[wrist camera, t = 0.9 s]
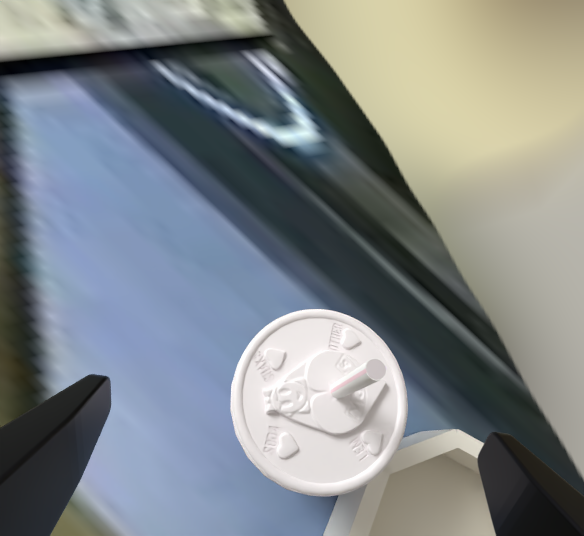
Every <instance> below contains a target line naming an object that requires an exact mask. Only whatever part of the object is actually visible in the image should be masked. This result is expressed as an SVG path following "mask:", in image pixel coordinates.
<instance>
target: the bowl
mask: <svg viewBox="0 0 584 536" xmlns="http://www.w3.org/2000/svg"><path fill="white" fill-rule="evenodd" d="M483 445H484V443H482V442H480V441H478V440H477V439H475V438H473V437H471V436H469V435H467V434H466V433H464V432H462V431H460V430H458V429H457V430H455V429H449V430H435V431H422V432H418V433H415V434H413V435H410V436H407V437H405V438H402V441H401V443H400V446H399V448H398V450H397V452H396V454H395V455H394V457H393V459H392V460H391V461H390V463H389V464H388V465H387V467H386V468H385V469H384V470H383V471H382V472H381V473H380V474H379V475H378V476H377V477H376V478H374V479H373V480H372V481H370V482H369V483H367V484H366V485H364V486H362V487H360V488H359V489H356V490H354V491H351V492H349V493H345V494H341V495H339V496H338V499H337V501H336V504H335V506H334V509H333V511H332V514H331V517H330V519H329V522H328V524H327V527H326V529H325V532H324V534H323V536H496V534H495V530H494V527H493V523H492V520H491V516H490V512H489V508H488V504H487V500H486V496H485V492H484V488H483V484H482V480H481V476H480V473H479V469H478V463H477V459H478V454H479V452H480V450H481V448H482V447H483Z"/></svg>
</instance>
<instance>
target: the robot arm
mask: <svg viewBox="0 0 584 536" xmlns="http://www.w3.org/2000/svg"><path fill="white" fill-rule="evenodd" d="M110 408H111V383H110V379H109V377H107V376H102V375H95V374H91V375H88V376H86V377H84V378H83V379H81V380H79V381H78V382H76V383H74V384H73V385H71V386H69V387H68V388H66V389H64V390H63V391H61V392H59V393H58V394H56V395H54V396H53V397H51V398H49V399H48V400H46V401H44V402H43V403H41V404H39V405H38V406H36V407H34V408H33V409H31V410H29V411H28V412H26V413H24V414H23V415H21V416H19V417H18V418H16V419H14V420H12V421H11V422H9V423H7V424H6V425H4V426H2V427H1V428H0V536H50V534H51V533H52V531H53V529H54V527H55V525H56V524H57V522H58V520H59V518H60V516H61V515H62V513H63V511H64V509H65V507H66V506H67V504H68V502H69V500H70V498H71V497H72V495H73V493H74V491H75V489H76V487H77V485H78V483H79V482H80V480H81V477H82V475H83V473H84V471H85V468H86V466H87V464H88V461H89V459H90V457H91V454H92V452H93V450H94V447H95V445H96V443H97V441H98V438H99V436H100V434H101V431H102V429H103V427H104V424H105V422H106V420H107V417H108V415H109V412H110ZM477 463H478V469H479V473H480V476H481V480H482V484H483V488H484V492H485V496H486V500H487V504H488V508H489V512H490V516H491V520H492V523H493V527H494V530H495V534H496V536H584V496H583V495H582V494H580V493H579V492H578V491H577V490H576V489H575V488H573V487H572V486H571V485H570V484H569V483H567V482H566V481H565V480H564V479H563V478H561V477H560V476H559V475H558V474H557V473H555V472H554V471H553V470H552V469H551V468H550V467H548V466H547V465H546V464H545V463H544V462H542V461H541V460H540V459H539V458H538V457H536V456H535V455H534V454H533V453H532V452H531V451H529V450H528V449H527V448H526V447H525V446H523V445H522V444H521V443H520V442H519V441H517V440H516V439H515V438H514V437H513V436H511V435H509V434H506V433H499V432H492V433H490V434H489V436H488V437H487V439H486V441H485V443H484V445H483V447H482V448H481V450H480V452H479V454H478V459H477Z"/></svg>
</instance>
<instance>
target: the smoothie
mask: <svg viewBox="0 0 584 536" xmlns="http://www.w3.org/2000/svg"><path fill="white" fill-rule="evenodd" d="M230 410H231V415H232V419H233V424H234V428H235V433H236V436H237V438H238V440H239V442H240V444H241V446H242V447H243V449H244V451H245V453H246V455H247V457H248V458H249V459H250V460H251V462H252V463H253V464H254V465H255V466H256V467H257V468H258V469H259V470H260V471H261V473H262V474H263V475H264V476H265V477H267V478H269V479H270V480H272V481H274V482H275V483H277V484H278V485H280V486H282V487H283V488H285V489H287V490H291V491H295V492H298V493H302V494H306V495H310V496H335V495H341V494H345V493H349V492H351V491H354V490H356V489H359V488H360V487H362V486H364V485H366V484H367V483H369V482H370V481H372V480H373V479H374V478H376V477H377V476H378V475H379V474H380V473H381V472H382V471H383V470H384V469H385V468H386V467H387V465H388V464H389V463H390V461H391V460H392V459H393V457H394V455H395V454H396V452H397V450H398V448H399V446H400V443H401V441H402V438H403V435H404V431H405V427H406V421H407V410H408V404H407V392H406V387H405V382H404V379H403V375H402V372H401V370H400V367H399V365H398V363H397V361H396V359H395V357H394V355H393V354H392V352H391V351H390V349H389V348H388V347H387V345H386V344H385V343H384V341H383V340H382V339H381V338H380V337H379V336H378V335H377V334H376V333H375V332H374V331H373V330H371V329H370V328H369V327H367V326H366V325H365V324H363V323H362V322H360V321H358V320H356V319H354V318H353V317H350V316H348V315H345V314H342V313H339V312H335V311H331V310H323V309H308V310H301V311H297V312H293V313H290V314H287V315H284V316H282V317H280V318H278V319H276V320H275V321H273V322H271V323H270V324H268V325H267V326H266V327H264V328H263V329H262V330H261V331H260V332H259V333H258V334H257V335H256V336H255V337H254V338H253V339H252V341H251V342H250V343H249V345H248V346H247V348H246V349H245V351H244V353H243V355H242V357H241V359H240V361H239V363H238V365H237V369H236V372H235V375H234V379H233V382H232V385H231V409H230Z"/></svg>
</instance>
